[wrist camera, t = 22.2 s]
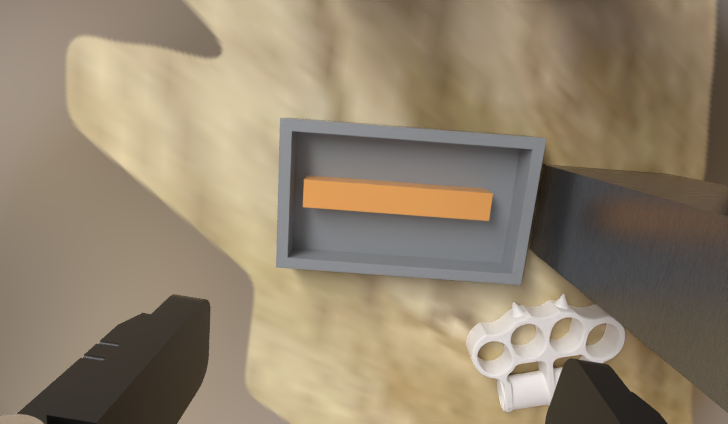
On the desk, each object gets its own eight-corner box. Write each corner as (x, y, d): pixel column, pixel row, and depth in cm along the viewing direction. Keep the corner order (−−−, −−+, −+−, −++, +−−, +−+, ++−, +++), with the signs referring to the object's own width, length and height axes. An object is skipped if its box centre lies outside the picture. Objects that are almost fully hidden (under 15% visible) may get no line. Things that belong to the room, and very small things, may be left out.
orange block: (306, 201, 47) (302, 207, 44) (307, 175, 46) (303, 179, 43) (481, 214, 47) (488, 220, 44) (485, 188, 46) (493, 193, 44)
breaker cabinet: (527, 260, 49) (807, 513, 18) (544, 164, 46) (906, 266, 15) (644, 268, 49) (1122, 534, 18) (667, 173, 47) (1273, 293, 15)
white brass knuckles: (474, 404, 54) (459, 303, 51) (612, 382, 53) (607, 278, 50) (481, 422, 51) (466, 316, 48) (628, 400, 50) (624, 290, 47)
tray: (283, 255, 49) (276, 267, 45) (287, 117, 45) (280, 118, 42) (508, 271, 49) (520, 285, 46) (531, 136, 46) (546, 138, 42)
